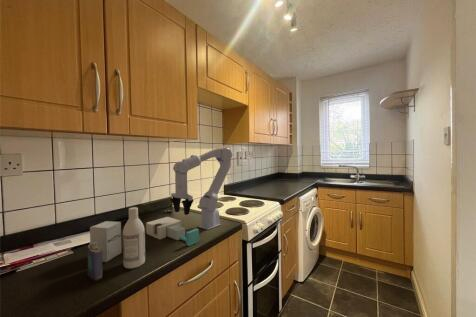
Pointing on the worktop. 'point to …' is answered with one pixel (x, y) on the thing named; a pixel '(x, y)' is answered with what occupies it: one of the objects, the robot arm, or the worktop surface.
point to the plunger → (156, 227)
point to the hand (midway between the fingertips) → (181, 213)
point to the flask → (94, 262)
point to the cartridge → (183, 234)
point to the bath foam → (133, 241)
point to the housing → (161, 229)
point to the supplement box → (107, 238)
